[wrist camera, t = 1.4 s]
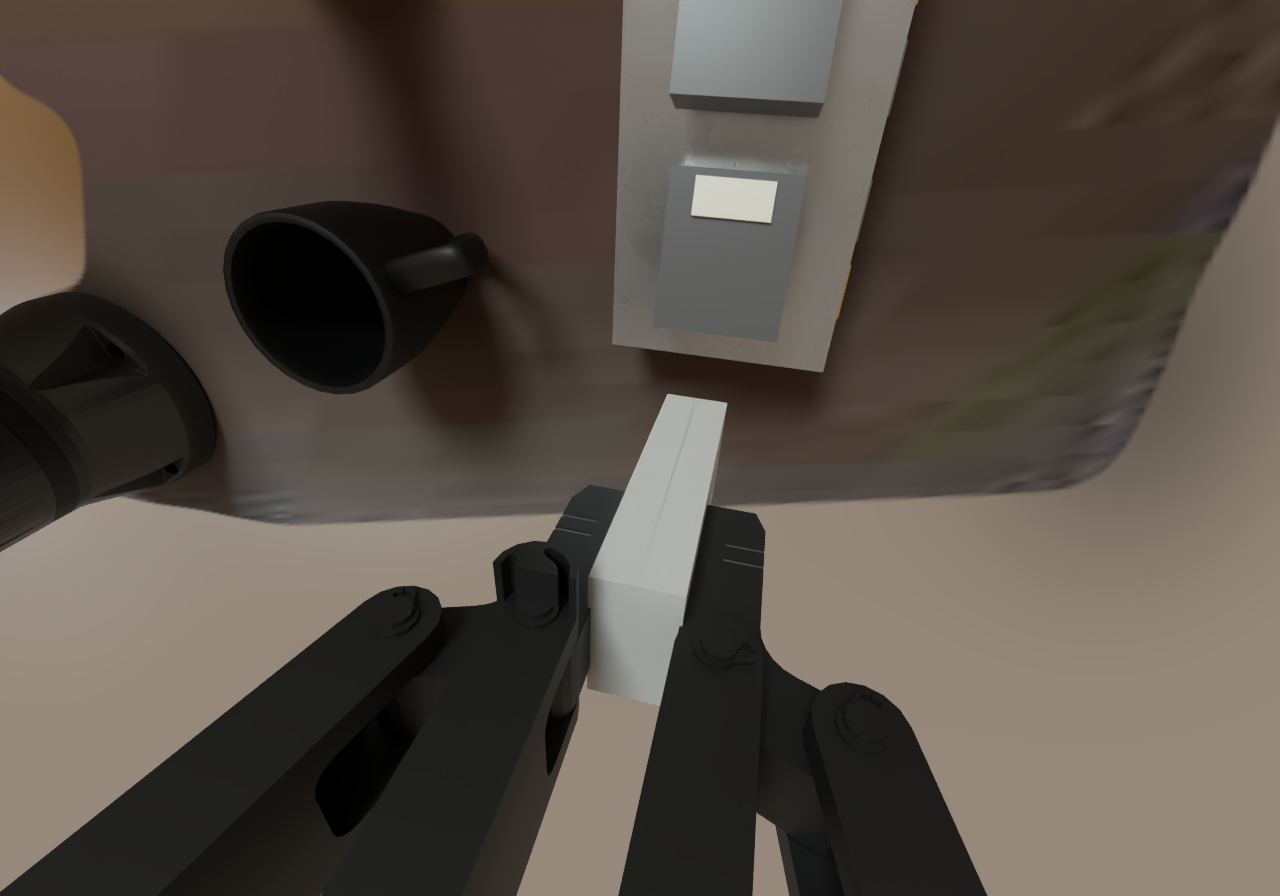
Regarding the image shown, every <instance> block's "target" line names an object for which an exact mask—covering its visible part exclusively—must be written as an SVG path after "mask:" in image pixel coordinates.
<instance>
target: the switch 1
mask: <svg viewBox="0 0 1280 896" xmlns="http://www.w3.org/2000/svg"><path fill="white" fill-rule="evenodd" d="M842 3H843V0H679V9H678V18H677V27H676V36H675V45H674V54H673V63H672V73H671V82H670V91H669V94H670V96H671V99H672V101H673V104H674V106H675V109H688V110H703V111H719V112H734V113H749V114H764V115H779V116H794V117H809V118H819V115H820V113H821V110H822V108H823V105H824V102H825V96H826V91H827V85H828V80H829V74H830V69H831V63H832V58H833V52H834V47H835V41H836V36H837V31H838V25H839V20H840V14H841V9H842Z"/></svg>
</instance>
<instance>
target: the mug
mask: <svg viewBox="0 0 1280 896" xmlns="http://www.w3.org/2000/svg"><path fill="white" fill-rule="evenodd" d="M488 265H489V255H488V251H487V248H486V246H485V244H484V242H483V240H482V239H481V238H480V237H479V236H478V235H477V234H474V233H466V234H462V235H458V236H455V237H453V235H452V234H451V233H450V232H449V231H448V230H447V229H446V228H445V227H444V226H443V225H442V224H441V223H439V222H438V221H436V220H434V219H433V218H431V217H429V216H426V215H423V214H419V213H413V212H409V211H405V210H402V209H398V208H394V207H390V206H385V205H379V204H371V203H362V202H351V201H324V202H318V203H312V204H306V205H300V206H295V207H289V208H284V209H278V210H273V211H267V212H262V213H257V214H255V215H254V216H252V217H250V218H248V219H247V220H245V221H243V222H242V223H241V224H240V225H239V226H238V228H237V229H236V230H235V231H234V232H233V234H232V235H231V237H230V239H229V242H228V244H227V247H226V250H225V255H224V267H223V272H224V279H225V286H226V291H227V294H228V297H229V300H230V303H231V306H232V309H233V311H234V313H235V315H236V317H237V319H238V321H239V323H240V325H241V327H242V329H243V330H244V331H245V333H246V334H247V336H248V337H249V338H250V340H251V341H252V343H253V344H254V345H255V347H256V348H257V349H258V350H259V351H260V352H261V353H262V354H263V355H264V356H265V357H266V358H267V359H268V360H269V361H270V362H271V363H272V364H273V365H274V366H276V367H277V368H278V369H279V370H281V371H282V372H283V373H284V374H286V375H287V376H289V377H290V378H292V379H294V380H296V381H297V382H299V383H301V384H303V385H305V386H307V387H310V388H313V389H315V390H318V391H321V392H326V393H332V394H352V393H358V392H360V391H363V390H366V389H369V388H371V387H372V386H374V385H375V384H377V383H379V382H380V381H382V380H383V379H385V378H386V377H388V376H389V375H391V374H392V373H394V372H395V371H397V370H398V369H399V368H401V367H402V366H404V365H405V364H407V363H408V362H409V361H411V360H412V359H413V358H415V357H416V356H417V355H418V354H419V353H420V352H421V351H422V350H423V349H425V348H426V347H427V346H428V344H429V343H430V342H431V341H432V340H433V339H434V337H435V336H436V335H437V334H438V332H439V331H440V329H441V328H442V327H443V325H444V324H445V322H446V321H447V319H448V318H449V317H450V315H451V313H452V311H453V310H454V308H455V306H456V304H457V302H458V301H459V299H460V298H461V296H462V295H463V293H464V290H465V287H466V283H467V277H469V276H471V275H474V274H477V273H479V272H481V271H483V270H484V269H485V268H486V267H487V266H488Z"/></svg>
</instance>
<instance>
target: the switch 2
mask: <svg viewBox="0 0 1280 896" xmlns="http://www.w3.org/2000/svg"><path fill="white" fill-rule="evenodd" d="M806 179H807V176H805V175H792V174H780V173H768V172H756V171H744V170H731V169H719V168H707V167H695V166H683V165H671V171H670V179H669V188H668V197H667V206H666V214H665V223H664V232H663V240H662V249H661V258H660V266H659V275H658V284H657V293H656V301H655V310H654V319H653V327H660V328H667V329H675V330H683V331H691V332H699V333H706V334H714V335H722V336H730V337H738V338H745V339H753V340H761V341H769V342H776V343H777V340H778V334H779V329H780V323H781V317H782V312H783V306H784V301H785V295H786V290H787V284H788V279H789V273H790V268H791V262H792V257H793V251H794V246H795V240H796V235H797V229H798V224H799V218H800V213H801V207H802V201H803V196H804V190H805V185H806Z"/></svg>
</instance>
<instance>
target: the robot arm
mask: <svg viewBox="0 0 1280 896" xmlns="http://www.w3.org/2000/svg"><path fill="white" fill-rule="evenodd" d="M726 408H727V403H724V402H718V401H711V400H705V399H698V398H691V397H685V396H678V395H672V394H667V397H666V399H665V401H664V403H663V406H662V408H661V410H660V413H659V415H658V417H657V420H656V422H655V424H654V426H653V429H652V431H651V433H650V436H649V438H648V440H647V443H646V445H645V447H644V449H643V452H642V454H641V456H640V459H639V461H638V463H637V466H636V468H635V470H634V473H633V475H632V477H631V479H630V482H629V484H628V486H627V489H626V491H620V490H615V489H609V488H604V487H598V486H593V485H589V486H587V487H586V488H585V489H583V490H582V491H580V492H579V493H577V494H576V495H575V496H573V497H572V499H571V501H570V502H569V504H568V506H567V508H566V509H565V511H564V513H563V517H561V518H560V520H559V522H558V524H557V525H556V529H555V530H553V532H552V534H551V536H550V538H549V539H548V541H547V542H541V541H532V542H527V543H522V544H517V545H515V546H513V547H511V548H509V549H507V550H505V551H503V552H502V553H501V554H500V555H499V556H498V557H497V558H496V559H495V560H494V562H493V568H494V577H495V585H496V594H497V601H496V602H493V603H489V604H485V605H478V606H465V607H446V608H442V607H441V604H440V601H439V599H438V597H437V596H436V595H435V594H433V593H432V592H431V591H430V590H428V589H424V588H421V587H417V586H401V587H395V588H392V589H389V590H385V591H382V592H380V593H378V594H376V595H375V596H373V597H371V598H370V599H368V600H366V601H365V602H363V603H362V604H361V605H360V606H359V607H357V608H356V609H355V610H353V611H352V612H351V613H350V614H348V615H347V616H346V617H345V618H343V619H342V620H341V621H340V622H338V623H337V624H336V625H335V626H333V627H332V628H331V629H330V630H328V631H327V632H326V633H325V634H323V635H322V636H321V637H320V638H319V639H317V640H316V641H314V642H313V643H312V644H311V645H310V646H308V647H307V648H306V649H305V650H303V651H302V652H301V653H300V654H298V655H297V656H296V657H294V658H293V659H292V660H291V661H289V662H288V663H287V664H286V665H284V666H283V667H282V668H281V669H280V670H278V671H277V672H276V673H274V674H273V675H272V676H271V677H270V678H268V679H267V680H266V681H265V682H263V683H262V684H261V685H259V686H258V687H257V688H256V689H254V690H253V691H252V692H251V693H249V694H248V695H247V696H246V697H244V698H243V699H242V700H241V701H239V702H238V703H237V704H236V705H234V706H233V707H232V708H230V709H229V710H228V711H227V712H225V713H224V714H223V715H222V716H220V717H219V718H218V719H217V720H216V721H214V722H213V723H212V724H211V725H209V726H208V727H207V728H205V729H204V730H203V731H202V732H201V733H199V734H198V735H197V736H195V737H194V738H193V739H192V740H190V741H189V742H188V743H187V744H185V745H184V746H183V747H182V748H180V749H179V750H178V751H177V752H175V753H174V754H173V755H171V757H169V758H168V759H166V761H164V762H163V763H161V764H160V765H159V766H158V767H157V768H155V769H154V770H153V771H152V772H150V773H149V774H148V775H146V776H145V777H144V778H143V779H141V780H140V781H139V782H138V783H136V784H135V785H134V786H133V787H132V788H130V789H129V790H128V791H126V792H125V793H124V794H123V795H121V796H120V797H119V798H118V799H116V800H115V801H114V802H113V803H111V804H110V805H109V806H108V807H106V808H105V809H104V810H102V811H101V812H100V813H99V814H97V815H96V816H95V817H94V818H92V819H91V820H90V821H89V822H87V823H86V824H85V825H84V826H82V827H81V828H80V829H79V830H78V831H76V832H75V833H74V834H72V835H71V836H70V837H69V838H67V839H66V840H65V841H64V842H62V843H61V844H60V845H59V846H57V847H56V848H55V849H54V850H52V851H51V852H50V853H49V854H47V855H46V856H45V857H44V858H42V859H41V860H40V861H39V862H37V863H36V864H35V865H33V866H32V867H31V868H30V869H29V870H27V871H26V872H25V873H23V874H22V875H21V876H20V877H18V878H17V879H16V880H15V881H13V882H12V883H11V884H10V885H8V886H7V887H6V888H5V889H3V890H2V891H1V892H0V896H320V895H321V894H322V895H321V896H516V895H517V892H518V889H519V886H520V883H521V880H522V878H523V875H524V872H525V869H526V866H527V863H528V860H529V857H530V854H531V852H532V849H533V845H534V843H535V840H536V837H537V834H538V831H539V828H540V826H541V822H542V820H543V817H544V814H545V811H546V808H547V805H548V802H549V799H550V796H551V794H552V791H553V788H554V785H555V782H556V779H557V776H558V773H559V771H560V768H561V765H562V762H563V759H564V756H565V753H566V750H567V748H568V744H569V742H570V739H571V736H572V733H573V730H574V727H575V724H576V722H577V717H578V710H579V695H580V692H581V689H582V687H583V684H584V681H585V678H586V675H588V676H587V688H588V689H592V690H596V691H600V692H604V693H608V694H612V695H617V696H621V697H624V698H629V699H633V700H637V701H641V702H645V703H649V704H653V705H657V706H660V709H659V713H658V718H657V722H656V727H655V731H654V737H653V741H652V746H651V750H650V755H649V759H648V764H647V768H646V773H645V777H644V782H643V787H642V791H641V796H640V800H639V805H638V809H637V813H636V818H635V822H634V827H633V832H632V836H631V841H630V845H629V850H628V854H627V859H626V864H625V869H624V873H623V877H622V882H621V886H620V891H619V895H618V896H752V891H753V871H754V849H755V827H756V812H757V813H758V814H760V815H761V816H763V817H764V818H766V819H767V820H769V821H770V822H772V823H773V824H775V826H776V831H777V836H778V840H779V845H780V851H781V856H782V861H783V865H784V871H785V876H786V881H787V886H788V891H789V896H987V894H986V892H985V890H984V888H983V885H982V883H981V881H980V879H979V876H978V874H977V872H976V870H975V868H974V865H973V863H972V861H971V859H970V856H969V854H968V852H967V850H966V848H965V845H964V843H963V841H962V839H961V836H960V834H959V832H958V830H957V827H956V825H955V823H954V821H953V818H952V816H951V814H950V812H949V810H948V807H947V805H946V803H945V801H944V799H943V796H942V794H941V792H940V790H939V788H938V785H937V783H936V781H935V779H934V776H933V774H932V772H931V770H930V767H929V765H928V763H927V761H926V759H925V756H924V754H923V752H922V750H921V748H920V745H919V743H918V741H917V738H916V736H915V734H914V732H913V730H912V728H911V726H910V724H909V723H908V721H907V720H906V718H905V717H904V715H903V714H902V712H901V711H900V709H898V708H897V707H896V706H895V705H894V704H893V703H891V701H889V700H888V699H887V698H886V697H885V696H884V695H881V694H880V693H878V692H876V691H874V690H872V689H870V688H868V687H866V686H863V685H858V684H853V683H847V682H844V683H838V684H832V685H829V686H827V687H826V688H824V689H823V690H822V691H820V690H819V689H817V688H815V687H813V686H811V685H809V684H807V683H805V682H804V681H802V680H800V679H798V678H796V677H794V676H793V675H791V674H790V673H788V672H787V671H785V670H783V668H781V666H779V665H778V664H777V663H776V662H775V661H774V660H773V659H772V657H771V656H770V654H769V653H768V651H767V650H766V648H765V646H764V643H763V641H762V638H761V630H760V623H761V605H762V586H763V566H764V547H765V530H764V528H763V526H762V524H761V523H760V521H759V519H758V517H757V515H756V514H755V513H749V512H744V511H738V510H733V509H727V508H722V507H716V506H711V501H712V496H713V491H714V485H715V478H716V472H717V466H718V459H719V453H720V446H721V440H722V434H723V427H724V421H725V415H726ZM214 445H215V425H214V420H213V416H212V413H211V410H210V407H209V404H208V402H207V399H206V397H205V395H204V393H203V391H202V389H201V388H200V386H199V384H198V382H197V381H196V379H195V378H194V376H193V375H192V373H191V372H190V370H189V369H188V367H187V366H186V365H185V364H184V362H183V361H182V360H181V359H180V357H179V356H178V355H177V354H176V353H175V352H174V351H173V349H172V348H171V347H170V346H169V345H168V344H167V343H166V342H165V341H164V340H163V339H162V338H161V337H159V336H158V335H157V334H156V333H155V332H154V331H153V330H152V329H150V328H149V327H148V326H147V325H145V324H144V323H143V322H141V321H140V320H139V319H137V318H136V317H134V316H133V315H131V314H130V313H128V312H126V311H125V310H123V309H121V308H119V307H118V306H116V305H114V304H112V303H109V302H107V301H105V300H102V299H100V298H97V297H94V296H91V295H87V294H82V293H75V292H64V293H57V294H53V295H49V296H45V297H41V298H37V299H33V300H29V301H25V302H23V303H20V304H18V305H16V306H14V307H12V308H10V309H9V310H7V311H6V312H4V313H3V314H1V315H0V552H1V551H3V550H4V549H6V548H8V547H10V546H11V545H13V544H15V543H17V542H18V541H20V540H22V539H24V538H26V537H27V536H29V535H31V534H33V533H35V532H36V531H38V530H40V529H42V528H43V527H45V526H47V525H49V524H50V523H52V522H54V521H55V520H57V519H59V518H61V517H63V516H65V515H66V514H68V513H70V512H72V511H74V510H76V509H78V508H79V507H82V506H85V505H88V504H91V503H95V502H99V501H103V500H107V499H111V498H115V497H119V496H123V495H126V494H130V493H134V492H138V491H142V490H146V489H150V488H153V487H157V486H161V485H165V484H168V483H171V482H173V481H176V480H178V479H180V478H182V477H183V476H185V475H187V474H188V473H190V472H192V471H193V470H195V469H197V468H198V467H200V466H202V465H203V464H204V463H205V462H206V461H207V460H208V459H209V457H210V456H211V454H212V451H213V449H214Z"/></svg>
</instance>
